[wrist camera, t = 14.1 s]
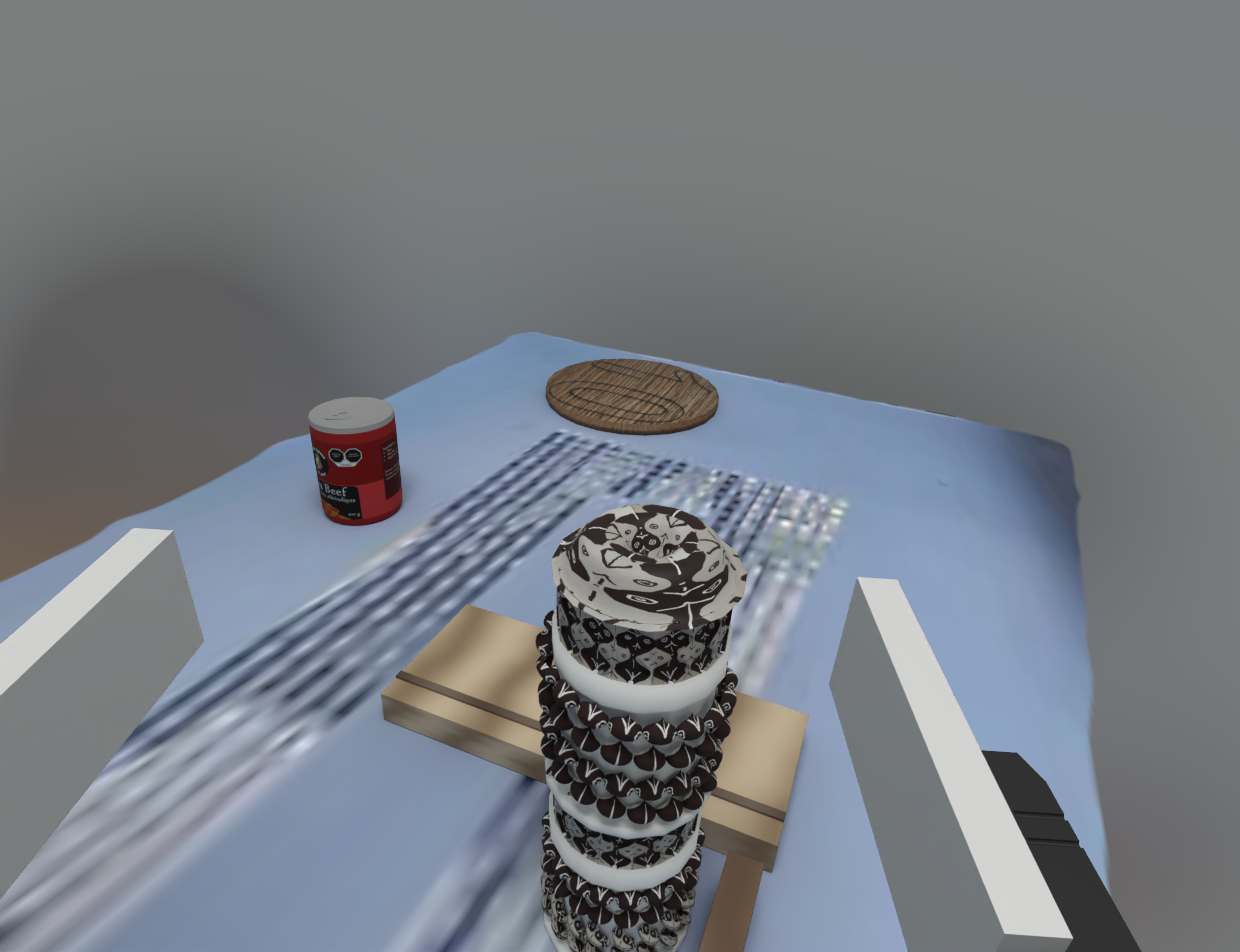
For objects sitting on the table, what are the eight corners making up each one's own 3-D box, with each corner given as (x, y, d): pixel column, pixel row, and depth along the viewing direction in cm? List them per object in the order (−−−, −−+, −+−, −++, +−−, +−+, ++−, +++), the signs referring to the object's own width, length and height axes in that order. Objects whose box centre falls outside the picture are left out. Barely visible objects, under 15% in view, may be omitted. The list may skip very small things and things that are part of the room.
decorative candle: (517, 854, 44) (512, 494, 32) (659, 813, 47) (703, 470, 35) (559, 1016, 37) (572, 627, 25) (724, 955, 40) (808, 582, 28)
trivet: (589, 359, 122) (590, 348, 121) (736, 389, 114) (737, 377, 113) (514, 413, 101) (513, 400, 100) (686, 453, 93) (688, 440, 92)
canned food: (310, 505, 77) (294, 408, 72) (380, 481, 82) (370, 390, 77) (344, 536, 72) (329, 435, 67) (416, 509, 77) (408, 414, 72)
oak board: (384, 719, 52) (380, 691, 51) (468, 627, 61) (466, 602, 60) (771, 872, 44) (778, 844, 43) (802, 739, 53) (809, 713, 52)
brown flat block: (689, 997, 38) (697, 954, 36) (720, 893, 43) (729, 850, 41) (727, 1015, 37) (737, 972, 35) (753, 907, 42) (764, 863, 40)
